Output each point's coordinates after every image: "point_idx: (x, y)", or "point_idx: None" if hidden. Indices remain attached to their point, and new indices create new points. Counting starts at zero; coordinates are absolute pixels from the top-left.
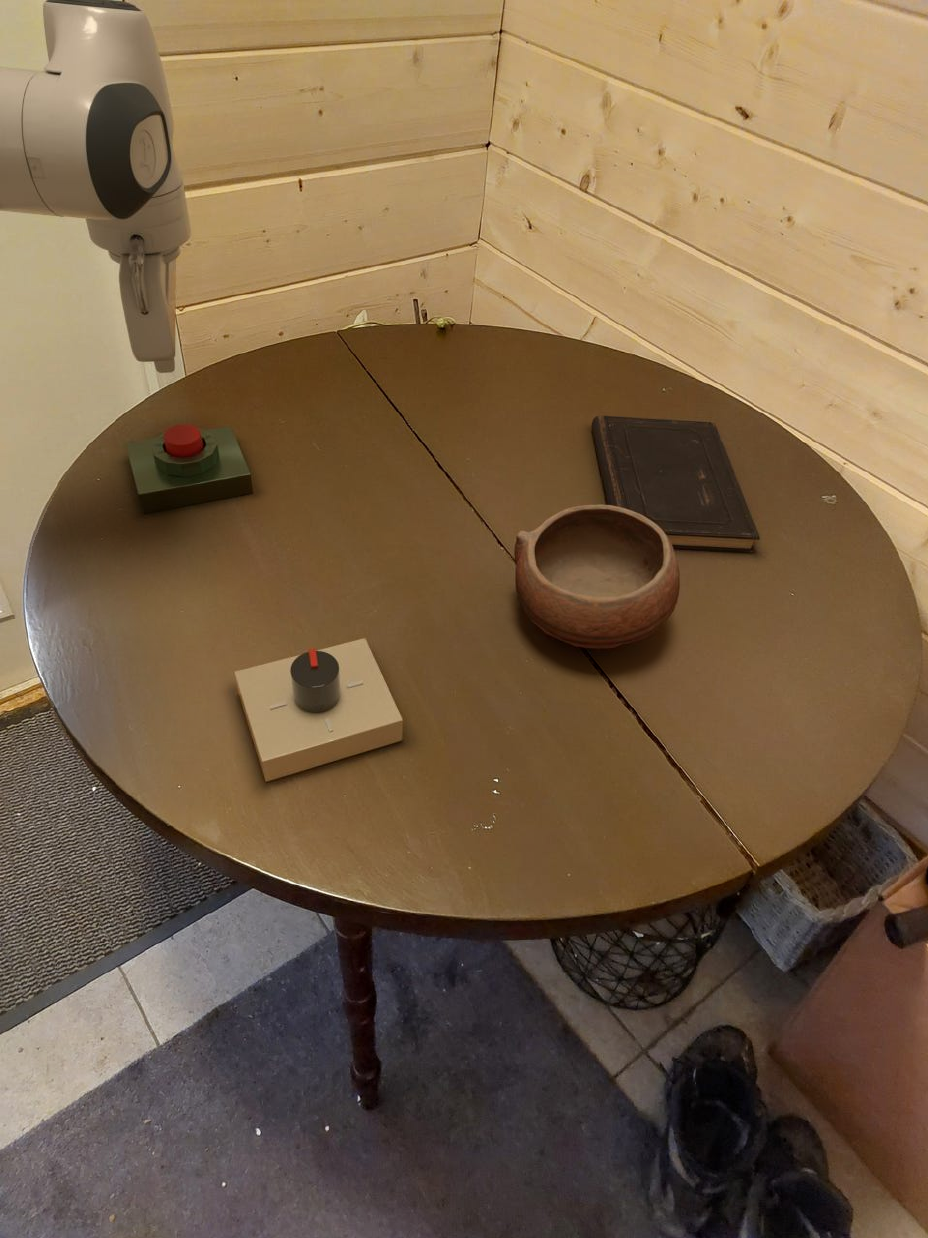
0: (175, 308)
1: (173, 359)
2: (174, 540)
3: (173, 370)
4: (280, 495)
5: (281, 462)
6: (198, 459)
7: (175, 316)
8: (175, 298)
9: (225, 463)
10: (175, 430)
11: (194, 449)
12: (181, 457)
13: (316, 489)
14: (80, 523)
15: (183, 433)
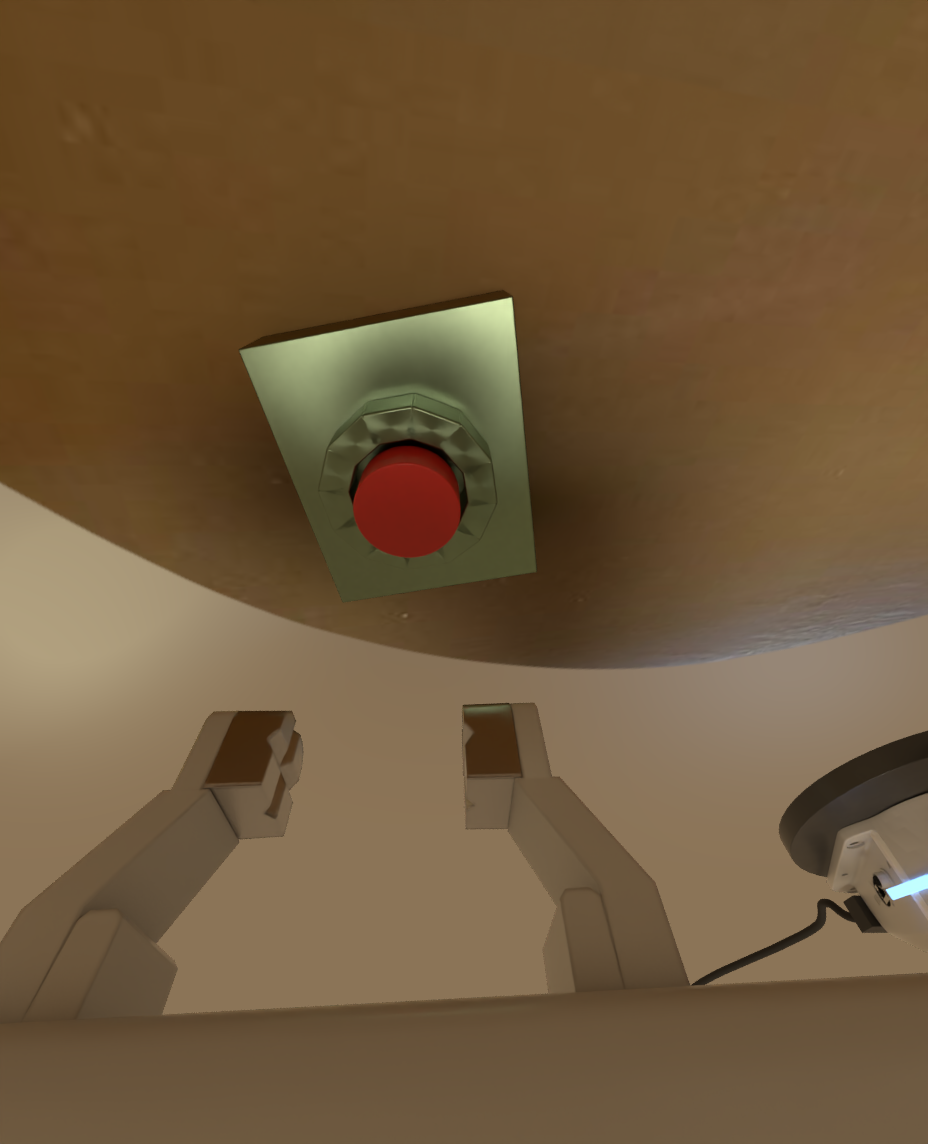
0: (388, 1105)
1: (511, 739)
2: (629, 488)
3: (534, 705)
4: (531, 192)
5: (351, 165)
6: (486, 461)
7: (569, 1094)
8: (149, 1121)
9: (447, 376)
10: (387, 530)
11: (449, 474)
12: (470, 504)
13: (526, 18)
14: (528, 630)
15: (402, 510)
